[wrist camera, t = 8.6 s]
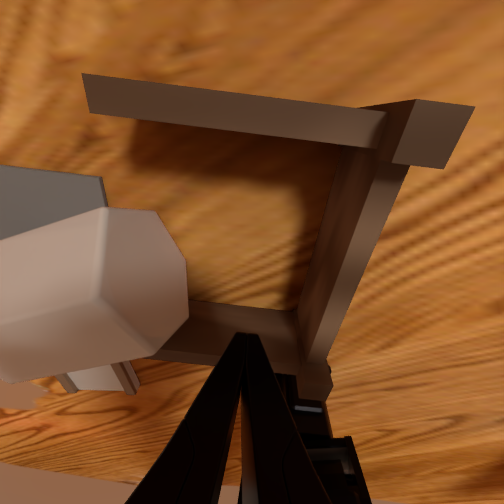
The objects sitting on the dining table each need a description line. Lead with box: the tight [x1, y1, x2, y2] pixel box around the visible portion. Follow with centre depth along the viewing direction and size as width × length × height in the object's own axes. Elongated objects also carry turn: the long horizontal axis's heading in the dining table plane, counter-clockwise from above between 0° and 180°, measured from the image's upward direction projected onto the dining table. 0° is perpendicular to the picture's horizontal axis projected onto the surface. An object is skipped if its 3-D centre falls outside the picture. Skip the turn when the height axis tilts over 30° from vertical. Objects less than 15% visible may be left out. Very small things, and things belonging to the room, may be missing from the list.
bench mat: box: [0, 165, 108, 240], centre depth 17 cm, size 11×11×1 cm
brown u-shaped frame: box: [82, 73, 475, 401], centre depth 14 cm, size 17×13×6 cm
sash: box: [54, 361, 140, 395], centre depth 24 cm, size 11×8×1 cm
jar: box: [0, 207, 189, 384], centre depth 14 cm, size 9×8×12 cm
